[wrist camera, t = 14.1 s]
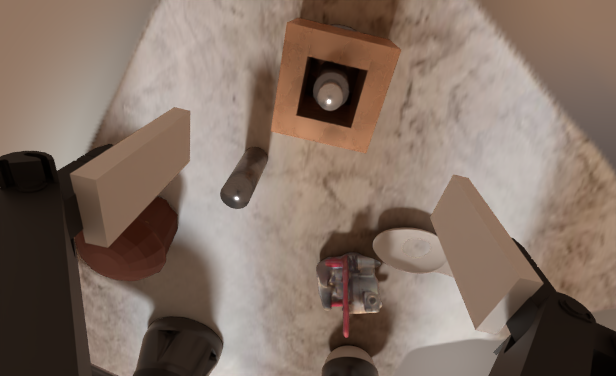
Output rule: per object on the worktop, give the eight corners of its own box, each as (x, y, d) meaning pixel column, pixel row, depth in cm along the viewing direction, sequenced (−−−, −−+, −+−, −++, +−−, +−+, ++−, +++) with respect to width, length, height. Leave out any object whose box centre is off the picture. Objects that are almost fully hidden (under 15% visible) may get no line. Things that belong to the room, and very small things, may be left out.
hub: (334, 129, 36) (331, 169, 27) (274, 74, 33) (251, 100, 25) (395, 69, 32) (413, 95, 23) (332, 2, 29) (328, 3, 21)
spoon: (358, 243, 45) (359, 257, 43) (390, 206, 41) (394, 218, 39) (535, 321, 52) (544, 336, 50) (578, 296, 48) (589, 311, 46)
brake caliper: (296, 254, 44) (349, 313, 35) (356, 223, 48) (417, 268, 39) (305, 306, 49) (352, 369, 40) (358, 275, 54) (411, 324, 45)
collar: (362, 126, 34) (366, 153, 28) (283, 108, 34) (270, 131, 28) (389, 39, 30) (401, 49, 24) (298, 17, 29) (287, 22, 23)
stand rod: (258, 172, 40) (238, 213, 32) (239, 158, 39) (214, 196, 31) (272, 157, 39) (255, 196, 31) (253, 142, 38) (230, 178, 30)
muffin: (202, 222, 45) (170, 273, 37) (161, 255, 50) (124, 307, 41) (134, 166, 41) (80, 209, 33) (95, 207, 46) (39, 255, 37)
